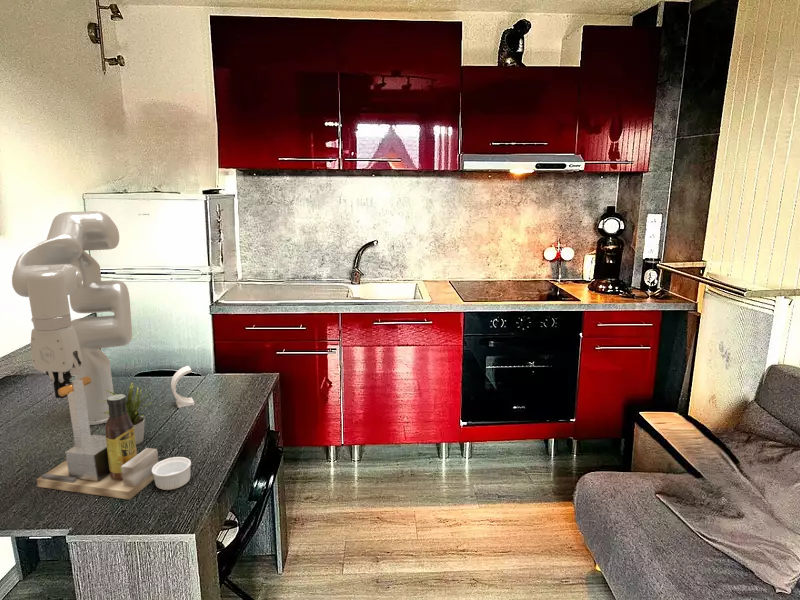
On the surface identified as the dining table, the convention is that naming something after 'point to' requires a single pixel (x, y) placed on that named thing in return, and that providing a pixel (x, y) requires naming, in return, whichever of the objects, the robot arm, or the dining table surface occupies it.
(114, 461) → the sauce bottle
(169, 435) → the dining table surface
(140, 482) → the clamp base
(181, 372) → the white curved arc piece
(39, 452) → the dining table surface
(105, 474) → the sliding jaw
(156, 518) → the dining table surface
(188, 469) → the ramekin
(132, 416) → the house plant
